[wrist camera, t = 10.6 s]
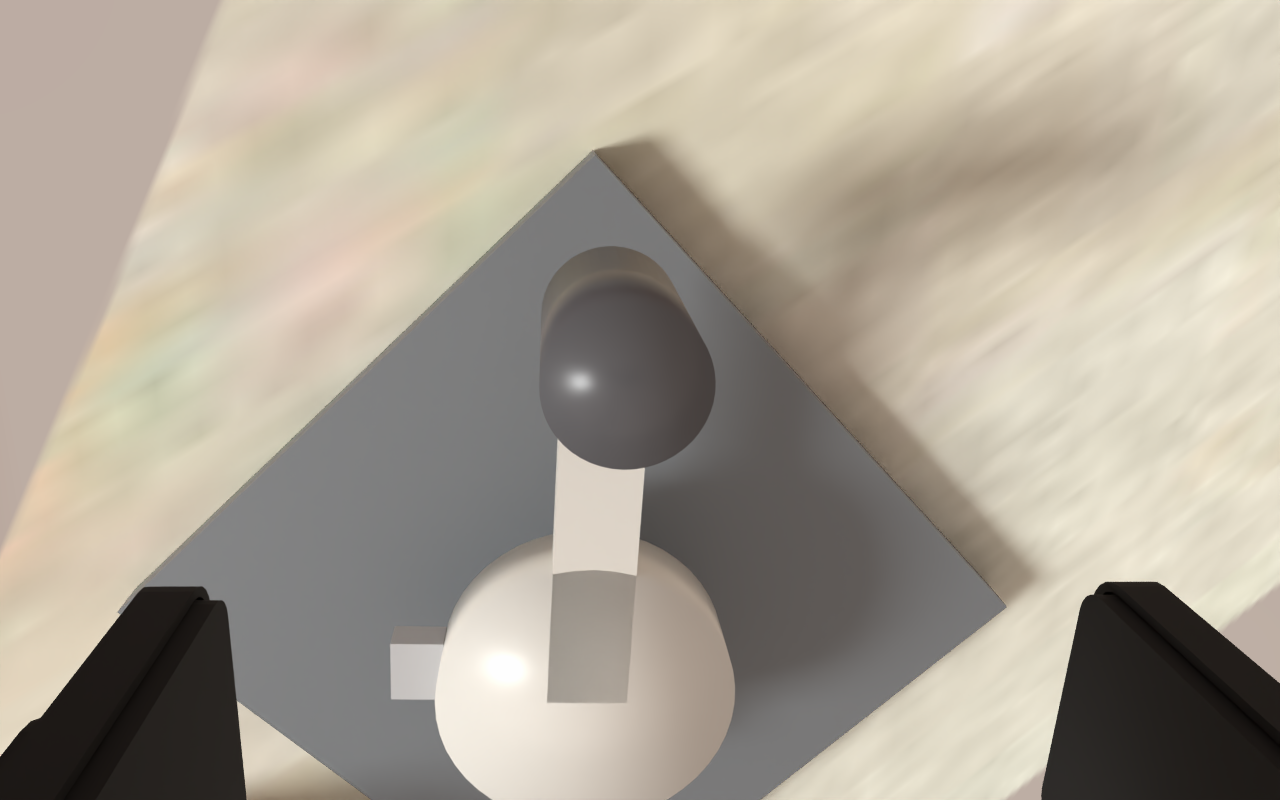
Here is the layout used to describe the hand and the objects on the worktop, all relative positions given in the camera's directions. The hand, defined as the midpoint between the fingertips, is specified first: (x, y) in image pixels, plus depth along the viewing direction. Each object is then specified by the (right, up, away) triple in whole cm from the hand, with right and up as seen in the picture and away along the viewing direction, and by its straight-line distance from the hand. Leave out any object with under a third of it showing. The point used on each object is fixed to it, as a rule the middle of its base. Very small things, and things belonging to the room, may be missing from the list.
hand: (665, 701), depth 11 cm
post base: (-2, -4, +25) cm, 26 cm away
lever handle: (-3, -1, +20) cm, 20 cm away
